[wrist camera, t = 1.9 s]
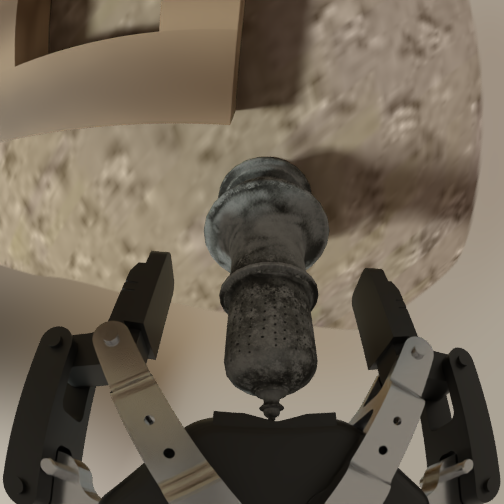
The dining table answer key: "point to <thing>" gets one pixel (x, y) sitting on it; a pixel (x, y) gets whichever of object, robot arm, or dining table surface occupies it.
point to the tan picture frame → (120, 70)
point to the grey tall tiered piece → (268, 276)
